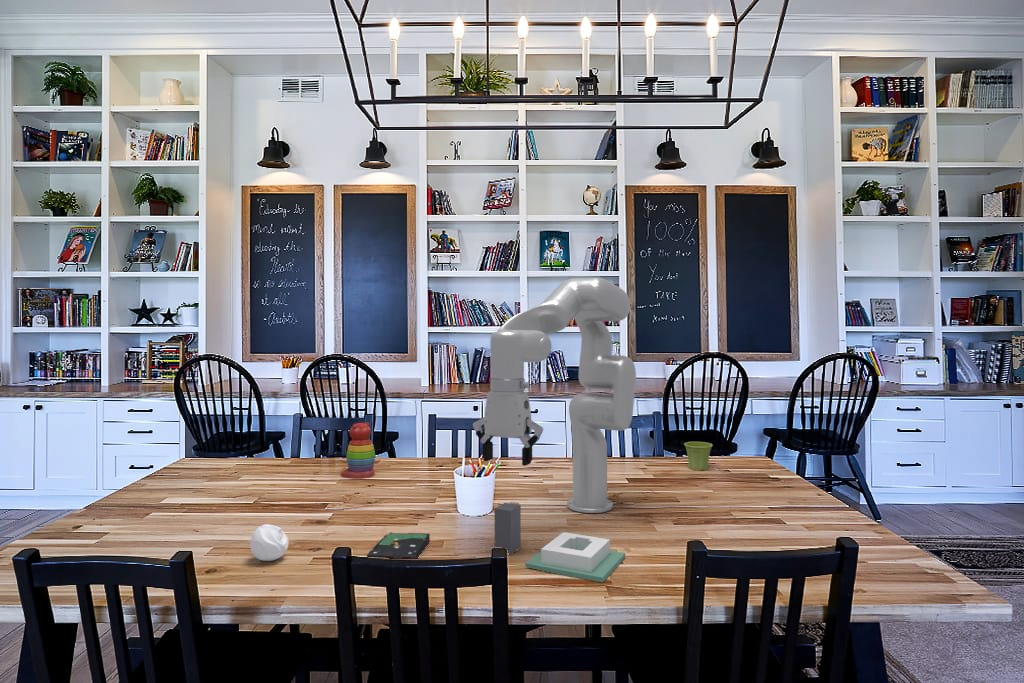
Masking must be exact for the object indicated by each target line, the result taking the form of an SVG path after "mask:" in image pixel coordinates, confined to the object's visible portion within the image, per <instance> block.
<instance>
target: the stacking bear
mask: <svg viewBox="0 0 1024 683" xmlns="http://www.w3.org/2000/svg"><path fill="white" fill-rule="evenodd" d="M348 433H349V436H350V438H351V440H350V441H349V444H348V447H347V451H346V456H345V457H346V463H347V468H346V469H344V470H342V471H341V473H340V475H341V477H343V478H346V479H347V478H348V479H356V480H357V479H358V480H359V479H367V478H371V477H374V476H375V474H376V471H375V469H374V465H375V461H376V460H375V459H376V451H375V447H374V446H375V445H374V444H373V443H372V440H371V439H370V436H371V433H372V432H371V427H370V423H369V422H356V423H354V424H352V426H351V428H350V429H349V432H348Z"/></svg>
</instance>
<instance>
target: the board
mask: <svg viewBox="0 0 1024 683" xmlns="http://www.w3.org/2000/svg"><path fill="white" fill-rule="evenodd" d="M540 550H541V551H539V552H538V553H537V554H535V555H534V556H533V557H531V558H530V559H529V560H527V561H526V562H525V563H524V565H525V567H527V568H526V569H528V568H533V569H537V570H536V571H539V570H542V571H541V572H544V571H547V572H546V573H549V572H551V574H554V573H556V574H555V575H560V574H561V575H560V576H565V575H566V577H570V576H571V578H577V579H581V580H582V579H583V580H586V579H587V580H588V581H593V582H598V583H602V584H603V583H604V582H605V581H606V580H607V578H608V577H609V576H610V575H611V574H612V573H613V572H614V571H615V570H616V568H618V567H619V565H620V564H621V563H622V562H623V561H624V560H625V559H626V552H621V551H615V550H611V539H609V538H603V537H596V536H589V535H584V534H577V533H570V532H565V531H564V532H562V533H560V534H559V535H558V536H556V537H555V538H554V539H553V540H551V541H550V542H549V543H547V544H546V545H545V546H543V547H542V548H541V549H540ZM525 567H524V568H525ZM533 569H532V570H533Z"/></svg>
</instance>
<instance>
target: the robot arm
mask: <svg viewBox="0 0 1024 683" xmlns="http://www.w3.org/2000/svg"><path fill="white" fill-rule="evenodd" d="M630 311H631V300H630V297H629V295H628V293H627V292H626V291H625V290H624V289H623V288H621V287H619V285H616V284H615V283H613V282H611V281H609V280H607V279H605V278H603V277H596V276H595V277H575V278H573V277H572V278H570V279H565V280H563V281H562V282H561V283H560V284H559V285H558V286H557V287H556V288H555V289H554V290H553V291H552V292H551V293H550V294H549V295H548V296H547V297H546V298H545V299H544V300H543V302H541V303H540V304H537V305H535V306H533V307H530V308H528V309H526V310H523V311H522V312H520V313H517V314H515V315H514V316H512V317H510V318H509V319H507V320H506V321H505V322H504V323H503V324H502V325H500V328H498V329H497V331H494V332H493V333H491V336H490V341H489V342H490V343H489V344H490V348H489V349H490V353H489V355H490V357H489V358H490V359H489V360H490V361H489V363H490V368H489V370H490V385H489V386H490V388H489V389H490V391H488V393H487V396H486V400H485V401H486V402H485V408H484V416H483V417H482V418H480V419H478V420H476V421H474V422H473V423H472V427H473V430H474V431H475V435H476V437H478V439H479V440H480V443H481V444H482V457H483V462H488V461H492V460H493V459H494V443H493V441H492V439H493V438H494V437H495V438H496V437H497V438H507V439H508V438H510V439H519V440H520V442H521V443H522V444H523V447H522V448H521V465H522V466H525V467H526V466H528V465H530V464H531V463H532V461H533V447H534V446H535V444H536V443H537V442H538V441H539V440H540V439H541V436H542V434H543V432H544V427H543V426H541V425H540V424H538V423H537V422H535V421H533V420H532V413H531V412H532V410H531V404H530V398H529V394H528V392H526V391H525V389H528V388H530V383H529V381H526V380H525V363H531V364H532V363H533V364H534V363H540V362H543V361H545V360H546V359H547V358H548V357H549V356H550V354H551V351H552V341H551V338H550V337H549V335H550V334H555V333H557V332H561V331H562V330H564V329H565V328H567V326H569V324H571V322H572V321H573V320H574V321H575V323H576V325H577V327H578V329H579V332H580V337H581V342H580V343H581V345H580V354H579V355H580V356H579V364H578V381H579V384H580V385H581V386H582V387H584V388H588V389H595V390H596V389H597V390H609V391H613V393H612V394H603V393H593V392H592V393H591V392H584V393H583V392H582V393H578V394H576V395H574V397H572V398H571V399H570V402H569V406H568V414H569V420H570V425H571V432H572V433H571V434H572V498H570V499H568V500H567V502H566V507H567V508H568V509H569V510H571V511H574V512H579V513H585V514H598V513H599V514H601V513H605V512H609V511H611V510H612V509H613V508H614V503H613V502H612V501H611V500H609V499H608V491H609V487H608V443H607V440H606V438H605V435H604V433H603V432H602V430H607V431H616V432H617V431H618V432H620V431H625V430H628V428H629V427H630V425H631V423H632V420H633V416H634V415H633V414H634V413H633V412H634V405H635V404H634V403H635V392H636V383H637V382H636V381H637V372H636V365H635V364H634V361H633V359H632V358H630V357H628V356H625V355H617V354H616V355H613V354H612V347H613V345H612V344H613V337H612V334H611V332H610V331H609V329H608V327H607V326H606V324H605V323H604V322H620V321H622V320H625V319H626V318H627V317H628V315H629V313H630ZM482 425H483V426H484V428H483V429H484V430H483V429H482ZM532 430H533V432H534V433H533V435H532V436H531V434H532Z"/></svg>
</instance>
